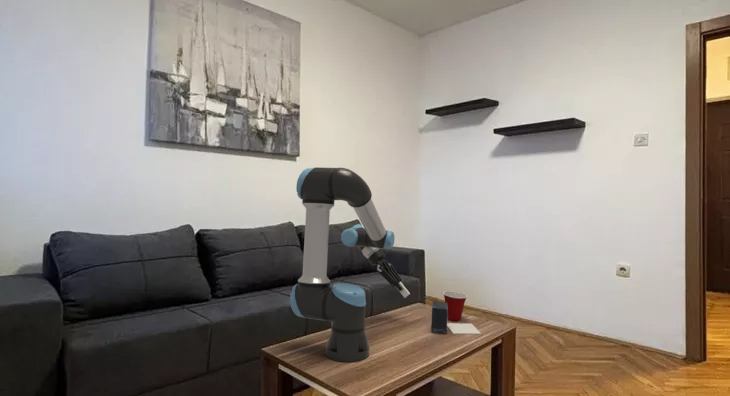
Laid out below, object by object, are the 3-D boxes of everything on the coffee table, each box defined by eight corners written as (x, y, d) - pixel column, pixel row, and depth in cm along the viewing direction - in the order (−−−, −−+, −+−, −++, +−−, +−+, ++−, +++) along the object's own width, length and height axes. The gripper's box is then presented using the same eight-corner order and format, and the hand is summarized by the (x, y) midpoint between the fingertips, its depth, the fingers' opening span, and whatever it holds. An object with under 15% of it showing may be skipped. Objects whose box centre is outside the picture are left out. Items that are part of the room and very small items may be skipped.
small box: (447, 334, 167) (447, 308, 167) (430, 333, 168) (431, 307, 168) (447, 326, 177) (447, 302, 177) (431, 325, 179) (432, 301, 178)
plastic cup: (465, 324, 180) (466, 297, 180) (440, 322, 184) (441, 294, 184) (467, 318, 191) (468, 292, 191) (443, 315, 194) (444, 289, 194)
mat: (452, 333, 168) (452, 333, 168) (445, 323, 181) (445, 323, 181) (481, 334, 168) (481, 333, 168) (471, 324, 181) (471, 323, 181)
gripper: (374, 257, 195) (407, 297, 188) (361, 261, 183) (395, 304, 176) (385, 247, 192) (418, 287, 185) (373, 250, 181) (408, 293, 174)
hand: (407, 295), depth 181 cm, fingers closed
